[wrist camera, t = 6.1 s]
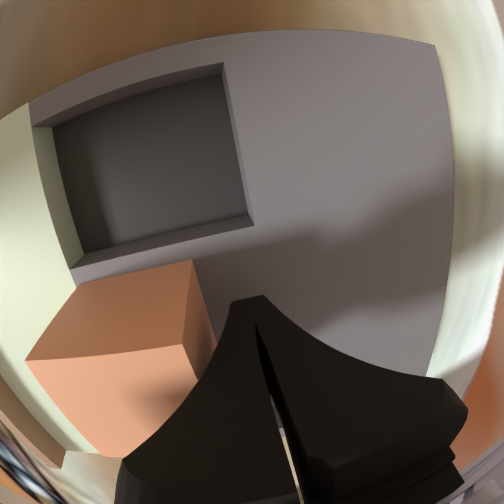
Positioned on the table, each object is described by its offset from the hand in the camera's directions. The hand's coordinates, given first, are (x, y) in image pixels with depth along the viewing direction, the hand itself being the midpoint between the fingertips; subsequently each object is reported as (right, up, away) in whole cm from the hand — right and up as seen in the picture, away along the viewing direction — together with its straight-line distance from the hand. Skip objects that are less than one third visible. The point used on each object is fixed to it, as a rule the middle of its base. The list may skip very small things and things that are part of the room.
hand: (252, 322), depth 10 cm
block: (-4, 0, +1) cm, 4 cm away
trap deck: (-4, 0, +3) cm, 4 cm away
